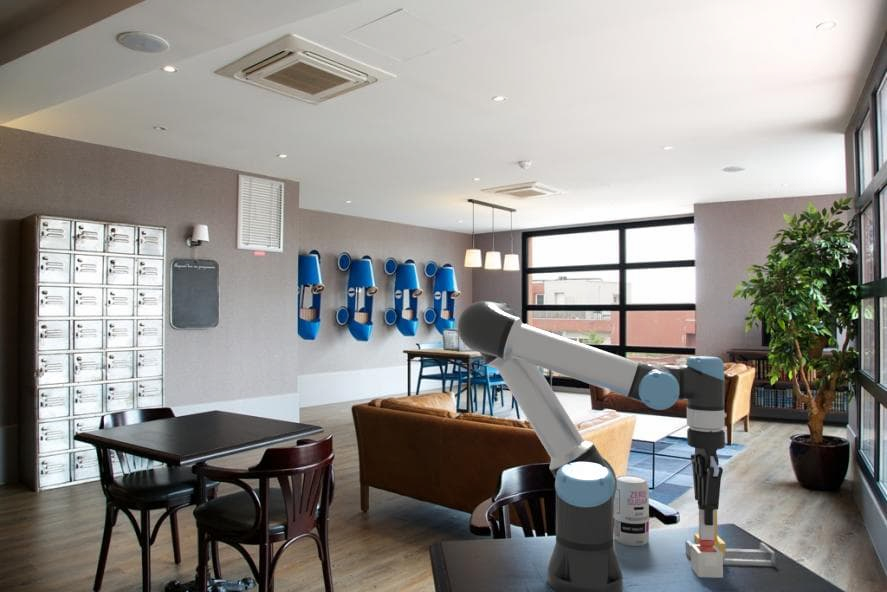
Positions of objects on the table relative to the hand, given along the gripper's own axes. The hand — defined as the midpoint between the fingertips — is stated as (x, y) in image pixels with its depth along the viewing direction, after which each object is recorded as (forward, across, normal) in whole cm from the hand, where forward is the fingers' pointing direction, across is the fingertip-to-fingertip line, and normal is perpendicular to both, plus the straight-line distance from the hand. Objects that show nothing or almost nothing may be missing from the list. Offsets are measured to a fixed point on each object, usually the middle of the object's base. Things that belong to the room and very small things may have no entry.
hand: (706, 538), depth 134 cm
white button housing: (+7, 0, 0) cm, 7 cm away
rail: (+7, +8, -8) cm, 13 cm away
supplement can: (+7, +18, +12) cm, 22 cm away
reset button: (+5, 0, 0) cm, 5 cm away
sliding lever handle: (+6, +7, -3) cm, 10 cm away
